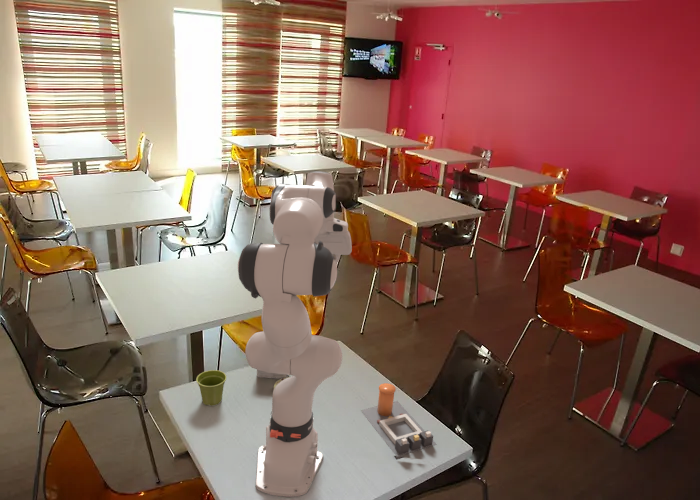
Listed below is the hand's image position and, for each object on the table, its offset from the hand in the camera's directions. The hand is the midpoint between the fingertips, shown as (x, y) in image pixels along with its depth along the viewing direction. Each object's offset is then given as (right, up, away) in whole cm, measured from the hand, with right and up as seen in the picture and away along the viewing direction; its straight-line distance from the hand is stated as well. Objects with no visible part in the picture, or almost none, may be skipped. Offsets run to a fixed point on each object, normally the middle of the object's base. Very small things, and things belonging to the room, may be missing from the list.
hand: (319, 267), depth 167 cm
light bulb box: (-18, -39, +24) cm, 50 cm away
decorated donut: (-11, -43, +15) cm, 47 cm away
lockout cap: (+21, -47, +6) cm, 52 cm away
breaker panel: (+24, -51, 0) cm, 56 cm away
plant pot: (-36, -44, +7) cm, 57 cm away
